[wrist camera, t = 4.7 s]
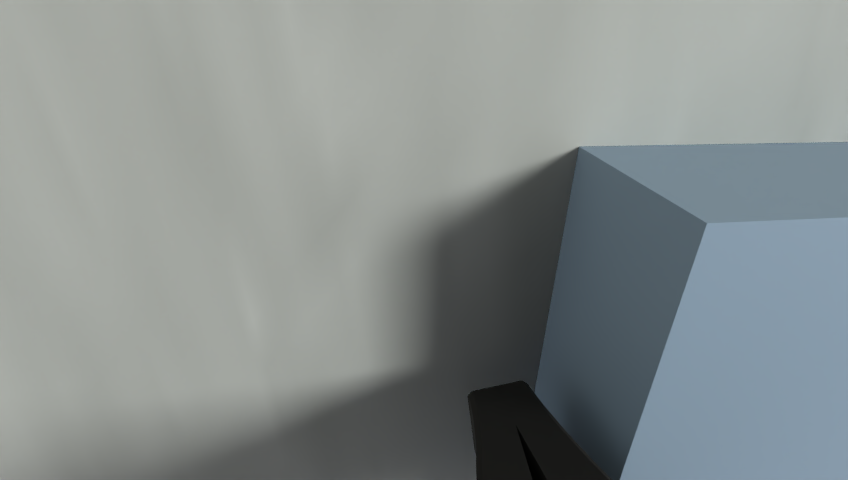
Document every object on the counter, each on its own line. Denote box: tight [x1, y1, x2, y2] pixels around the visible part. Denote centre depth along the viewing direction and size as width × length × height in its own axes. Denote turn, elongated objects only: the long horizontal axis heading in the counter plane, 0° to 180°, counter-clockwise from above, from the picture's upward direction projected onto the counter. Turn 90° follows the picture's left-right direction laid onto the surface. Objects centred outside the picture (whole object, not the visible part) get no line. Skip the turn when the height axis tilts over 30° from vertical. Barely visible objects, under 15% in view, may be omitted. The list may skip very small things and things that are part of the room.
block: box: [534, 142, 848, 480], centre depth 10 cm, size 8×10×4 cm
